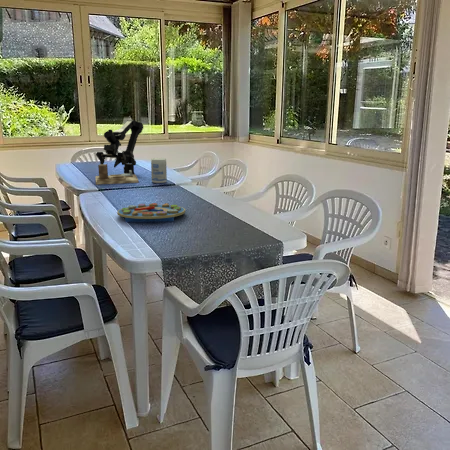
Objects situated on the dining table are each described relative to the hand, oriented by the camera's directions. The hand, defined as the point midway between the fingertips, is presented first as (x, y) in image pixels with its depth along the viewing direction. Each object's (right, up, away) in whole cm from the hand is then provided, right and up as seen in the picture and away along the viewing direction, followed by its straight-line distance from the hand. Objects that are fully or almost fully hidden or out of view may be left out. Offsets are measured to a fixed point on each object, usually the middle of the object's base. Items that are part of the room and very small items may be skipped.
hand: (107, 167), depth 282 cm
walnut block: (-1, -9, -4) cm, 9 cm away
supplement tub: (+33, -10, 0) cm, 35 cm away
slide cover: (+10, -4, +11) cm, 15 cm away
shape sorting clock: (+41, -33, -80) cm, 96 cm away
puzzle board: (+5, -8, +4) cm, 10 cm away
